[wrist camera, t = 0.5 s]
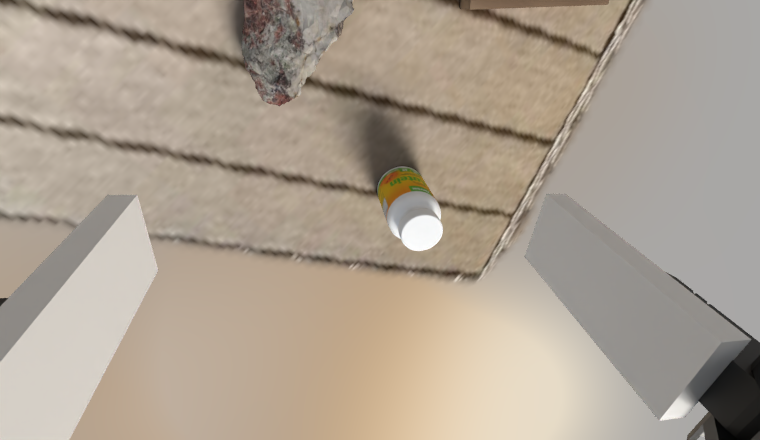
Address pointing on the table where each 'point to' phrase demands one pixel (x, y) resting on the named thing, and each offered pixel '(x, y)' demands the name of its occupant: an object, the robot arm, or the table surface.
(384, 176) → the supplement bottle
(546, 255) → the robot arm
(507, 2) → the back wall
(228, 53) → the table surface
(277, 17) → the mineral rock
